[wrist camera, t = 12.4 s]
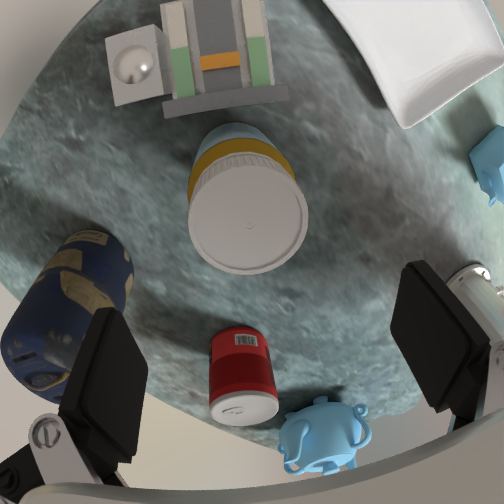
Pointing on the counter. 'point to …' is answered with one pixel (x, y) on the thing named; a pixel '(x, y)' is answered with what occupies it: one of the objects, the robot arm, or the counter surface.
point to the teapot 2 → (490, 164)
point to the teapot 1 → (323, 437)
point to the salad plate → (421, 49)
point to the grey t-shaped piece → (220, 66)
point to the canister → (65, 310)
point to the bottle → (244, 202)
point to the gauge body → (184, 53)
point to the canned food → (241, 378)
